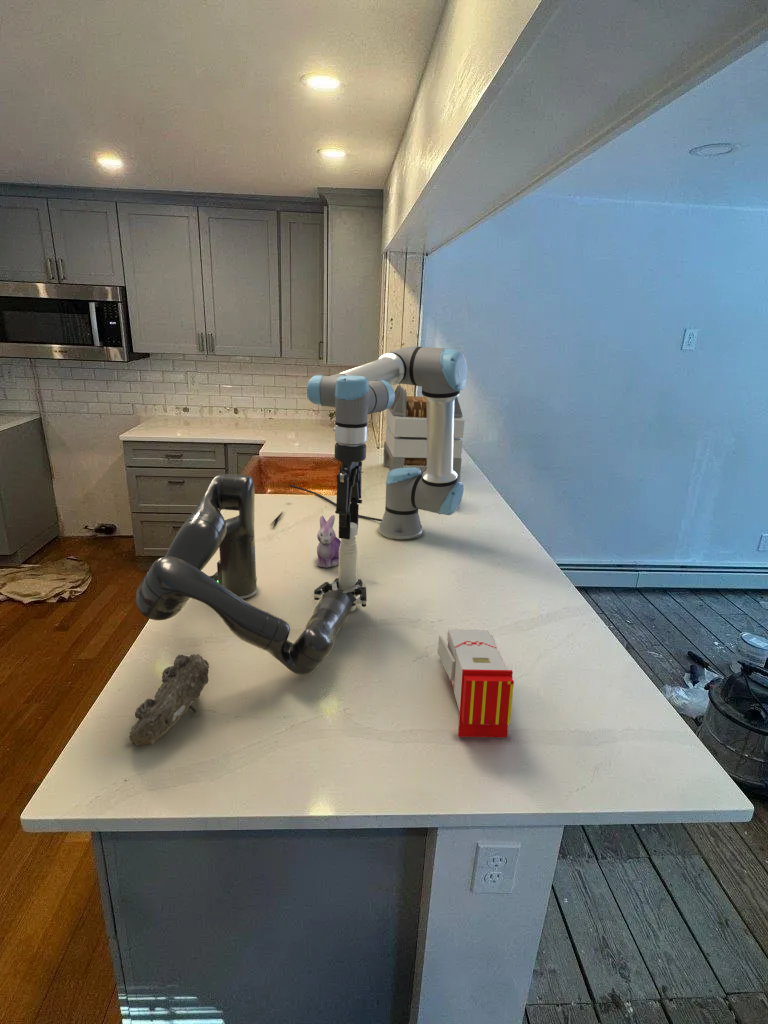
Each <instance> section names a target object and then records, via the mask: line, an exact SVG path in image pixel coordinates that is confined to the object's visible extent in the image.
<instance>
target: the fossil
mask: <svg viewBox="0 0 768 1024" xmlns="http://www.w3.org/2000/svg"><path fill="white" fill-rule="evenodd" d="M209 665H210V664H209V662H208V660H207V659H204V658H203V656H202V655H200V653H199V654H198V653H197V654H195V653H193V654H190V655H184V654H178V655H177V656H176V657H175V660H174V661H173V665H171V666H167V667H166V668H165V669H163V671H162V672H161V674H162V675H161V682H162V684H161V685H160V687H158V689H157V691H156V693H155V695H154V699H153V698H147V699H146V700H145V701H144V702H142V703H141V704H139V706H138V707H137V708H136V709H135V712H134V717H135V718H136V719H138V720H137V721H136V722H135V724H134V725H132V726H131V729H130V732H129V736H128V737H129V740H130V743H132V744H134V745H136V746H144V745H150V744H151V745H153V744H154V743H156V742H157V741H158V740H159V739H160V738H161V737H162V736H163V735H165V734H166V733H167V732H168V731H169V730H170V729H171V728H172V727H173V726H174V725H175V724H176V723H177V722H179V720H180V719H181V718H182V715H183V714H185V713H186V712H187V710H188V709H190V710H191V711H192V712H193V713H194V714H197V713H198V712H197V710H196V709H195V708H194V707H193V706H192V705H191V704H192V703H193V702H196V701H197V700H198V699H199V698H200V696H201V693H202V692H203V690H204V688H205V686H206V685H207V684H208V683H209V668H210V666H209Z"/></svg>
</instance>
